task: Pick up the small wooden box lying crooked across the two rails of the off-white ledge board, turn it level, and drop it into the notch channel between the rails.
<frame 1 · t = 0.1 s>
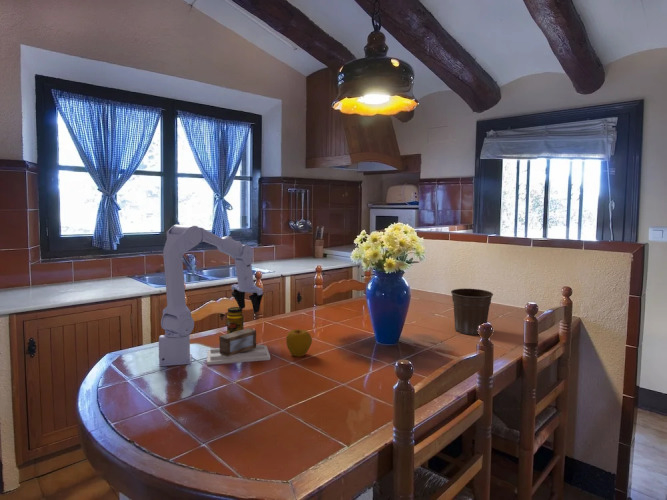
hand: (249, 310, 168), 11 cm above the table, tool pointing down, fingers open, 7 cm apart
plant pot: (469, 331, 182), on the table
apple: (298, 355, 151), on the table
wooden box: (238, 350, 149), point 2 cm above the table, touching notch ledge
condiment: (235, 339, 167), on the table
notch ledge: (238, 356, 149), on the table
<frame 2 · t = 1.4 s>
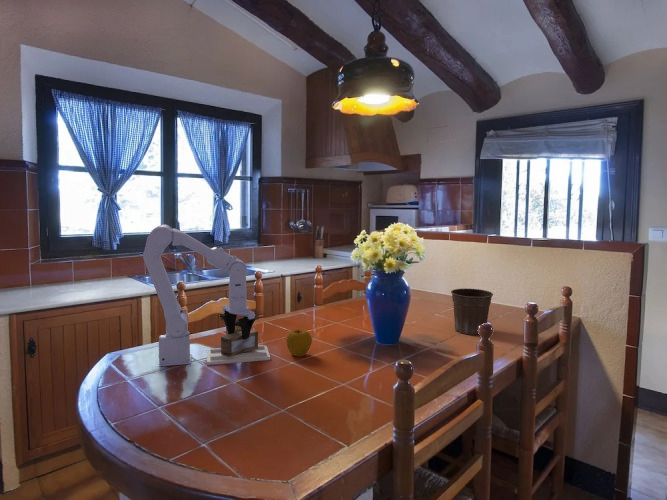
hand: (238, 336, 148), 7 cm above the table, tool pointing down, fingers open, 7 cm apart
condiment: (236, 330, 163), point 4 cm above the table, touching gripper, notch ledge
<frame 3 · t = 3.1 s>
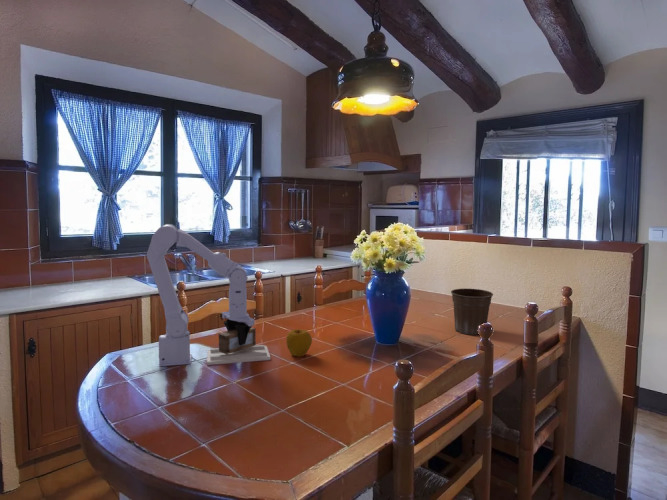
hand: (238, 342, 148), 5 cm above the table, tool pointing down, fingers closed on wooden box, 4 cm apart
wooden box: (237, 348, 148), point 3 cm above the table, touching gripper
condiment: (237, 330, 164), point 4 cm above the table, touching notch ledge
everything else where it was.
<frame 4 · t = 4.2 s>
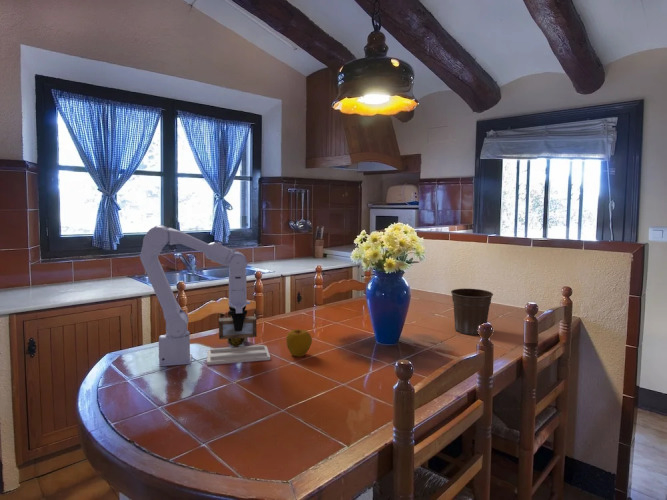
hand: (238, 329, 148), 9 cm above the table, tool pointing down, fingers closed on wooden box, 4 cm apart
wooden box: (237, 336, 148), point 7 cm above the table, touching gripper
everything else where it was.
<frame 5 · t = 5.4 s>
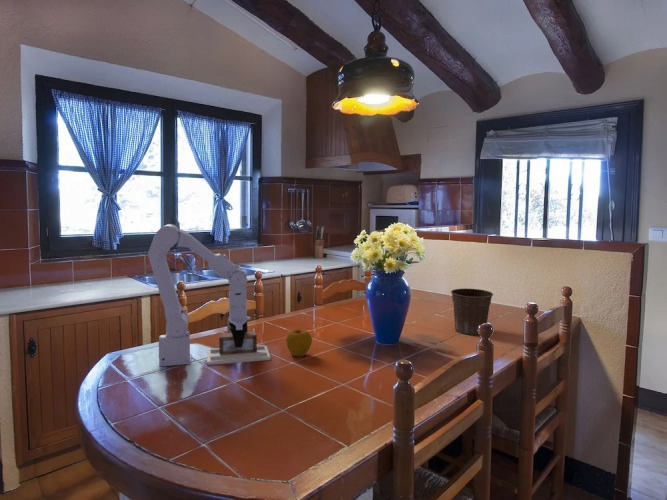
hand: (238, 344, 148), 4 cm above the table, tool pointing down, fingers closed on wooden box, 4 cm apart
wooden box: (238, 351, 149), point 2 cm above the table, touching gripper
everything else where it was.
when the fingers open (3 cm above the table, at t = 6.4 s): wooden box stays where it is, resting on notch ledge.
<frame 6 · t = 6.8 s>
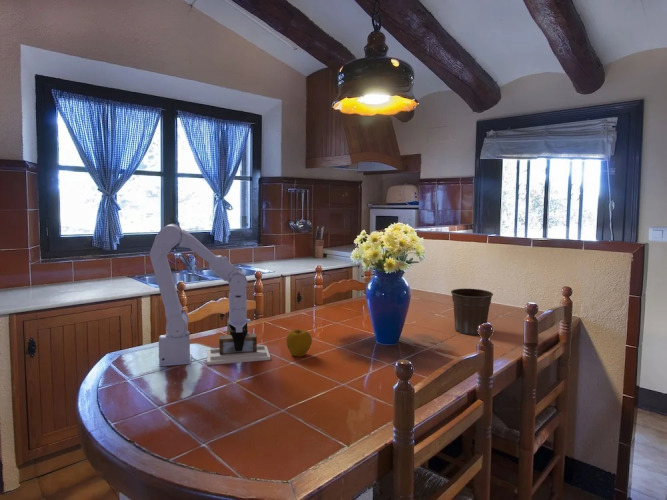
hand: (238, 347, 148), 3 cm above the table, tool pointing down, fingers open, 7 cm apart
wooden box: (238, 353, 149), point 1 cm above the table, touching notch ledge
condiment: (237, 329, 165), point 4 cm above the table, touching gripper
everything else where it was.
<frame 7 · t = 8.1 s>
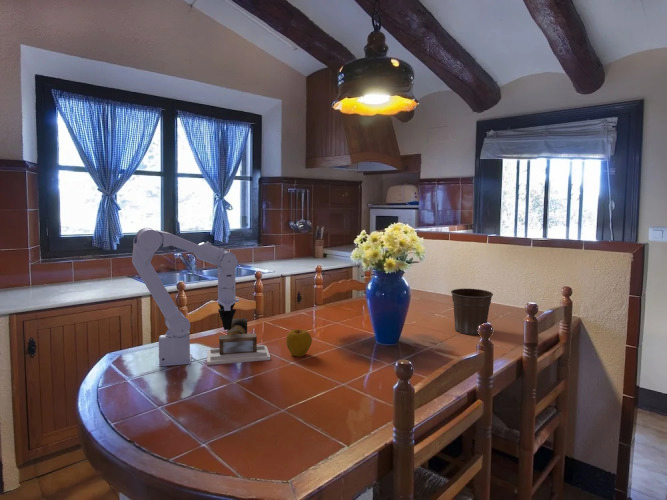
hand: (227, 326, 151), 9 cm above the table, tool pointing down, fingers open, 7 cm apart
condiment: (237, 329, 164), point 4 cm above the table, touching notch ledge
everything else where it was.
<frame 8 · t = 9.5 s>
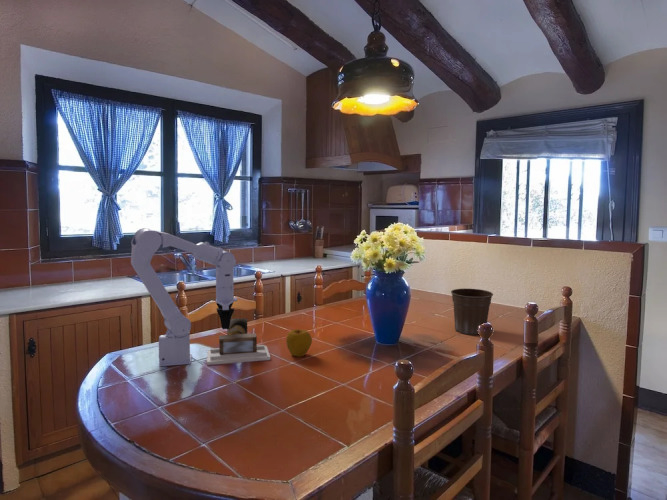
hand: (225, 325, 152), 9 cm above the table, tool pointing down, fingers open, 7 cm apart
nothing on the table moved.
at the end: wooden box 0.1 cm off-centre on the notch ledge, point 1.0 cm above the notch ledge's base; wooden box tilted 0°; the gripper is holding nothing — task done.
